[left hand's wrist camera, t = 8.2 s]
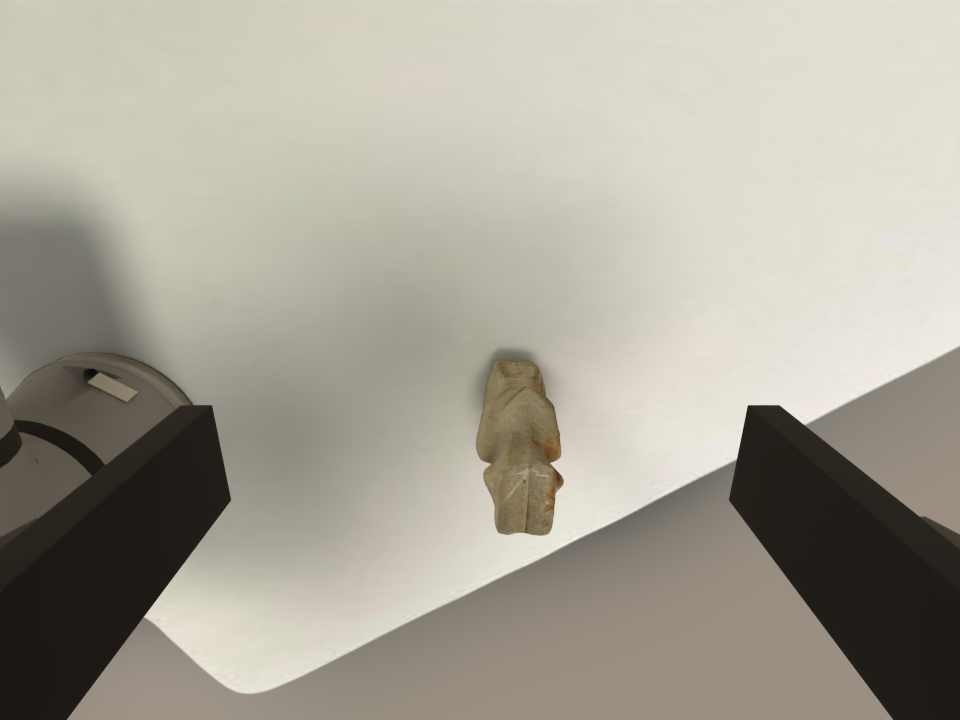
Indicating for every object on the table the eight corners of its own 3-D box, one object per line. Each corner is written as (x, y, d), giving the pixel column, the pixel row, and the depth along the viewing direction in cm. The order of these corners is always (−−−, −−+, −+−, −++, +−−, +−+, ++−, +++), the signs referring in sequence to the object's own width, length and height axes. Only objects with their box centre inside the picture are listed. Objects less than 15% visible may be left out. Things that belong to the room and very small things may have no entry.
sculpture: (472, 424, 45) (468, 542, 31) (481, 346, 42) (483, 435, 28) (538, 431, 45) (565, 551, 31) (552, 353, 42) (588, 446, 28)
